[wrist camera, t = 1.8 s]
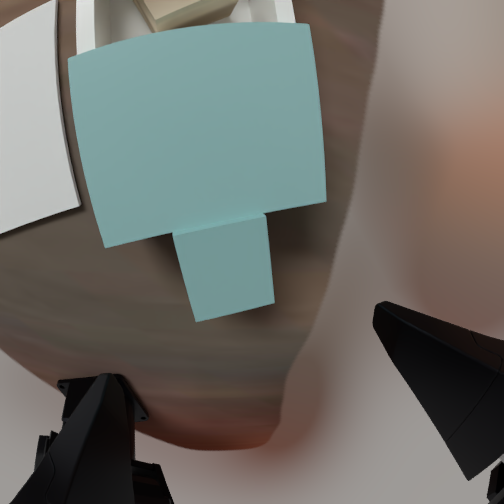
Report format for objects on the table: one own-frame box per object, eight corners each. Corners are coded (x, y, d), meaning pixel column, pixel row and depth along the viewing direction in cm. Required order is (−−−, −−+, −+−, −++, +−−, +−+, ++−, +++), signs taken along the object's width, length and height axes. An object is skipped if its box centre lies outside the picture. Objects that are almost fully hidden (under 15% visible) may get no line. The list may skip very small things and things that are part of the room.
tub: (283, 178, 16) (313, 194, 13) (125, 210, 15) (111, 236, 11) (252, -46, 9) (273, -80, 6) (98, -26, 8) (82, -57, 4)
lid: (316, 271, 14) (330, 287, 13) (138, 312, 13) (136, 334, 11) (297, 31, 9) (313, 21, 8) (77, 64, 8) (63, 56, 6)
